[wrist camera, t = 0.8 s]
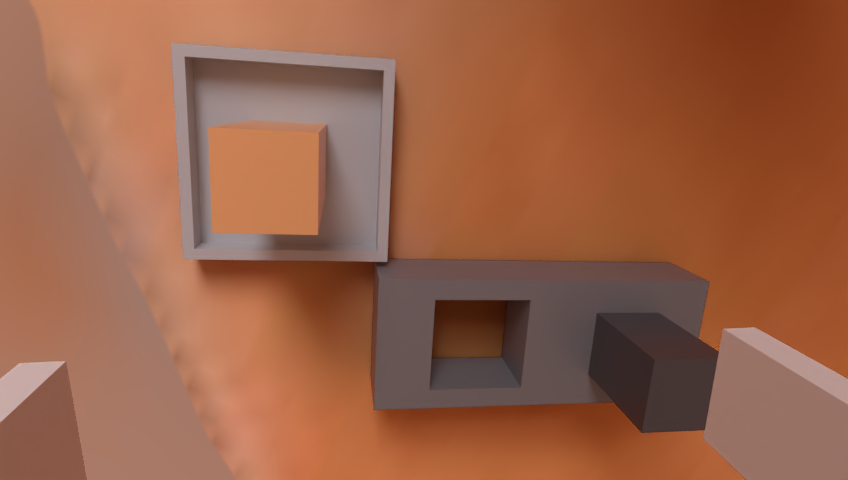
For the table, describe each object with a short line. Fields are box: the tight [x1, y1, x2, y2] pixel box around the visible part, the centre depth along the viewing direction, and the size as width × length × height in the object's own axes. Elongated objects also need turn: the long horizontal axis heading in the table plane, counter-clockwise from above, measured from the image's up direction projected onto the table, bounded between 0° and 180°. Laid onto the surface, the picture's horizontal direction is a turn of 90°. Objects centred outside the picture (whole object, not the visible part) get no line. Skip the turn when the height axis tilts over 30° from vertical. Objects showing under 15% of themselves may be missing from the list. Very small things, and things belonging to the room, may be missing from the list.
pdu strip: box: [371, 259, 719, 433], centre depth 30 cm, size 8×20×10 cm, turn 87°
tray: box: [171, 43, 396, 262], centre depth 29 cm, size 11×11×2 cm
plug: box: [208, 120, 327, 235], centre depth 25 cm, size 4×4×10 cm
